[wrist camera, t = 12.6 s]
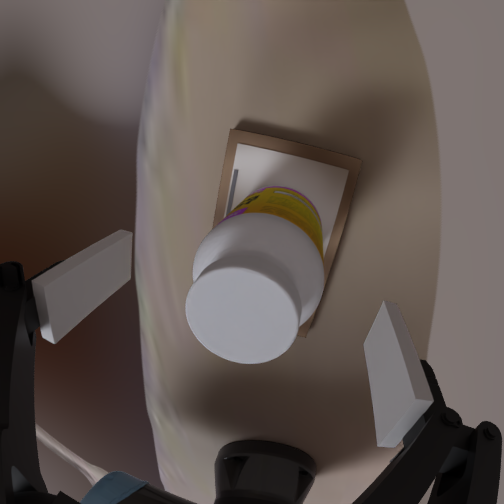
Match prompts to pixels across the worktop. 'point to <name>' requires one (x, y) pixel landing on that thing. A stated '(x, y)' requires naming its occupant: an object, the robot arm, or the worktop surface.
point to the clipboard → (290, 182)
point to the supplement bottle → (258, 276)
